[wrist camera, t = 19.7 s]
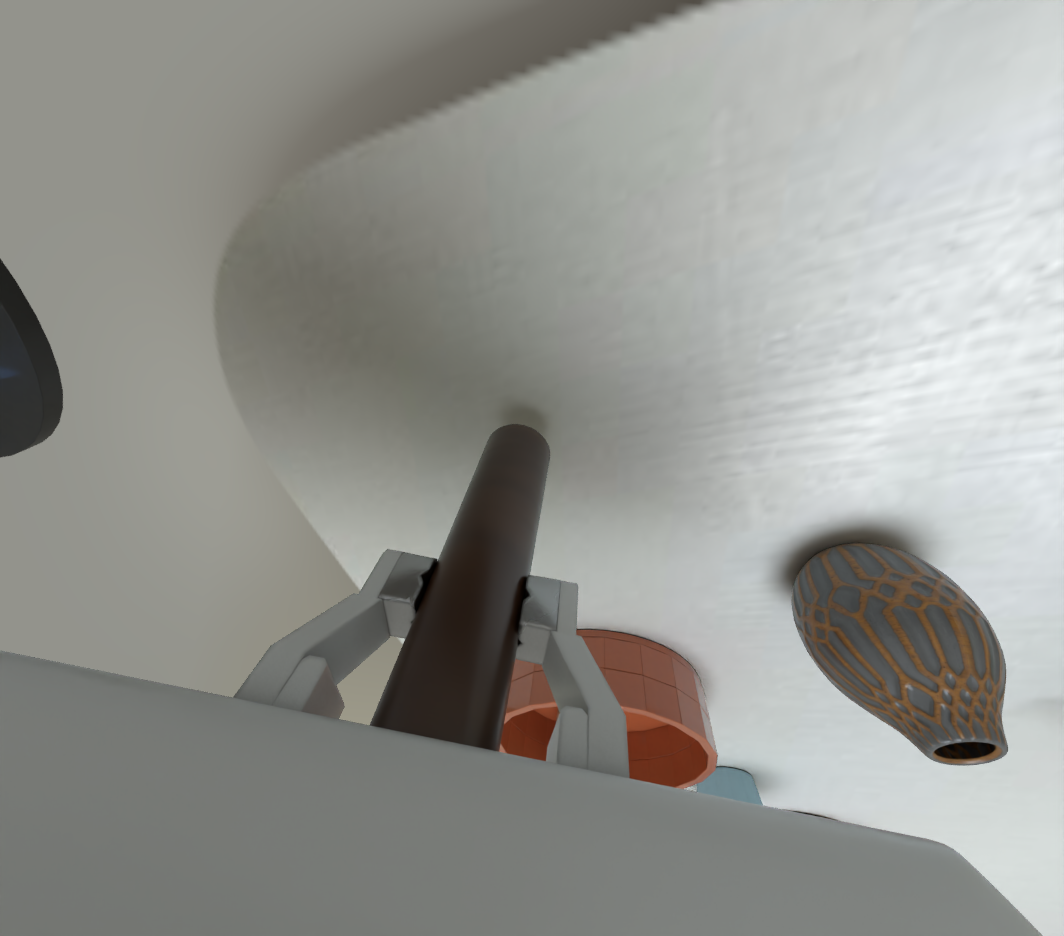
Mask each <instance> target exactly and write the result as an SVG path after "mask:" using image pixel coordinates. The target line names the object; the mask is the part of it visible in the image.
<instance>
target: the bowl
mask: <svg viewBox="0 0 1064 936" xmlns="http://www.w3.org/2000/svg"><path fill="white" fill-rule="evenodd" d="M576 635H578V636H581V637H582V638H583V640H584V642H585V644H586V645H587V647H588V649H589V651H590V653H591V654H592V656H593V658H594V660H595V662H596V663H597V665H598V667H599V669H600V671H601V672H602V674H603V676H604V678H605V680H606V681H607V683H608V685H609V687H610V688H611V690H612V692H613V694H614V696H615V697H616V699H617V701H618V703H619V705H620V706H621V708H622V710H623V712H624V714H625V715H626V726H627V743H628V760H629V778H630V779H635V780H640V781H645V782H650V783H655V784H660V785H665V786H670V787H674V788H679V789H684V788H687V787H690V786H692V785H695V784H698V783H701V782H703V781H704V780H705V779H706V778H707V777H709V776H710V775H711V774H712V773H713V772H714V771H715V770H716V763H717V756H718V755H717V750H716V746H715V741H714V736H713V732H712V727H711V723H710V718H709V713H708V709H707V704H706V699H705V695H704V690H703V688H702V686H701V683H700V679H699V677H698V675H697V673H696V671H695V670H694V669H693V667H692V666H691V665H690V664H689V663H688V662H687V661H686V660H685V659H683V658H682V657H681V656H679V655H678V654H676V653H675V652H673V651H672V650H670V649H668V648H666V647H664V646H662V645H660V644H657V643H655V642H652V641H650V640H647V639H643V638H640V637H637V636H633V635H628V634H624V633H618V632H612V631H603V630H576ZM557 711H558V707H557V704H556V702H555V699H554V697H553V694H552V691H551V689H550V686H549V684H548V681H547V678H546V676H545V673H544V671H543V668H542V665H540V664H535V663H530V662H526V661H521V660H517V659H515V663H514V669H513V675H512V680H511V686H510V692H509V698H508V704H507V709H506V715H505V721H504V727H503V732H502V738H501V744H500V750H499V752H503V753H508V754H512V755H517V756H522V757H527V758H532V759H537V760H542V761H546V756H547V747H548V744H549V741H550V738H551V736H552V733H553V730H554V727H555V725H556V716H557Z"/></svg>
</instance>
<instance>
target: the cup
mask: <svg viewBox="0 0 1064 936" xmlns="http://www.w3.org/2000/svg"><path fill="white" fill-rule="evenodd" d="M697 792H699V793H704V794H709V795H714V796H719V797H724V798H728V799H733V800H738V801H743V802H748V803H753V804H758V805H763V804H762V801H761V799H760V796H759V793H758V790H757V788H756V785H755V783H754V780H753V778H752V776H751V775H750V774H748V773H747V772H744V771H742V770H738V769H734V768H727V767H716V770H715V771H714V772H713V773H712V774H711V775H710V776H709V777H707V778H706V779H705V780H704V781H703V782H701V783H698V784H697Z"/></svg>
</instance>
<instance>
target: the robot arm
mask: <svg viewBox="0 0 1064 936" xmlns="http://www.w3.org/2000/svg"><path fill="white" fill-rule="evenodd" d="M436 564H437V559H435V558H430V557H425V556H420V555H415V554H411V553H406V552H401V551H396V550H390V549H387V550H386V551H385V552H384V553H383V554H382V556H381V557H380V559H379V561H378V562H377V564H376V566H375V567H374V569H373V571H372V572H371V574H370V576H369V577H368V579H367V581H366V582H365V584H364V586H363V587H362V589H361V591H360V592H359V594H352V595H350V596H349V597H347V598H346V599H344V600H342V601H341V602H339V603H338V604H336V605H334V606H333V607H331V608H330V609H328V610H327V611H325V612H323V613H322V614H321V615H319V616H317V617H316V618H314V619H312V620H311V621H309V622H307V623H306V624H304V625H303V626H301V627H300V628H298V629H296V630H295V631H293V632H292V633H290V634H288V635H287V636H285V637H284V638H282V639H281V640H279V641H277V642H276V643H274V644H273V645H271V646H270V647H269V649H268V650H267V652H266V653H265V654H264V656H263V657H262V659H261V660H260V661H259V663H258V664H257V665H256V667H255V668H254V669H253V671H252V672H251V674H250V675H249V676H248V678H247V679H246V681H245V682H244V683H243V685H242V686H241V687H240V689H239V690H238V692H237V693H236V694H235V696H234V697H233V698H232V697H227V696H222V695H218V694H213V693H208V692H203V691H198V690H193V689H188V688H183V687H178V686H173V685H168V684H163V683H159V682H154V681H148V680H143V679H139V678H134V677H129V676H124V675H119V674H114V673H109V672H104V671H99V670H94V669H90V668H84V667H80V666H75V665H70V664H64V663H60V662H55V661H50V660H45V659H40V658H35V657H30V656H25V655H20V654H15V653H10V652H5V651H0V936H1042V935H1041V933H1040V932H1039V931H1038V930H1037V929H1036V928H1035V927H1034V926H1033V925H1032V924H1031V923H1030V922H1029V921H1028V920H1027V919H1026V918H1025V917H1024V916H1023V915H1022V914H1021V913H1020V912H1019V911H1018V910H1017V909H1016V908H1015V907H1014V906H1013V905H1012V904H1011V903H1010V902H1009V901H1008V900H1007V899H1006V898H1005V897H1004V896H1003V895H1002V894H1001V893H1000V892H999V891H998V890H997V889H996V888H995V887H994V886H993V885H992V884H991V883H990V882H989V881H988V880H987V879H986V878H985V877H984V876H983V875H982V874H981V873H980V872H979V871H978V870H977V869H975V868H974V867H973V866H972V865H971V864H970V863H969V862H968V861H967V860H966V859H965V858H964V857H963V856H961V855H960V854H959V853H958V852H956V851H955V850H954V849H952V848H950V847H948V846H947V845H945V844H942V843H939V842H936V841H933V840H929V839H925V838H920V837H915V836H910V835H905V834H900V833H895V832H890V831H886V830H881V829H876V828H871V827H866V826H861V825H856V824H851V823H846V822H841V821H836V820H832V819H827V818H822V817H817V816H812V815H807V814H802V813H797V812H792V811H787V810H782V809H778V808H773V807H768V806H763V805H758V804H753V803H748V802H743V801H738V800H733V799H728V798H724V797H719V796H714V795H709V794H704V793H699V792H694V791H689V790H684V789H679V788H674V787H670V786H665V785H660V784H655V783H650V782H645V781H640V780H635V779H630V778H629V760H628V743H627V726H626V715H625V714H624V712H623V710H622V708H621V706H620V705H619V703H618V701H617V699H616V697H615V696H614V694H613V692H612V690H611V688H610V687H609V685H608V683H607V681H606V680H605V678H604V676H603V674H602V672H601V671H600V669H599V667H598V665H597V663H596V662H595V660H594V658H593V656H592V654H591V653H590V651H589V649H588V647H587V645H586V644H585V642H584V640H583V638H582V637H581V636H578V635H576V630H577V606H578V585H577V583H571V582H565V581H560V580H557V579H551V578H545V577H539V576H533V575H528V577H527V582H526V588H525V593H524V601H523V605H522V610H521V616H520V622H519V628H518V639H519V640H518V646H517V652H516V657H515V659H517V660H521V661H526V662H530V663H535V664H540V665H542V668H543V671H544V673H545V676H546V678H547V681H548V684H549V686H550V689H551V691H552V694H553V697H554V699H555V702H556V704H557V707H558V710H559V712H560V714H559V716H558V719H557V722H556V725H555V727H554V730H553V733H552V736H551V738H550V741H549V744H548V747H547V756H546V761H542V760H537V759H532V758H527V757H522V756H517V755H512V754H508V753H503V752H498V751H493V750H488V749H483V748H478V747H473V746H468V745H463V744H458V743H454V742H449V741H444V740H439V739H434V738H429V737H424V736H419V735H414V734H409V733H404V732H400V731H395V730H390V729H385V728H380V727H375V726H370V725H365V724H360V723H355V722H350V721H346V720H340V719H339V717H340V715H341V713H342V711H343V709H344V702H343V700H342V697H341V695H340V693H339V690H338V688H337V686H336V685H337V684H338V683H339V682H340V681H342V680H343V679H344V678H345V677H346V676H347V675H348V674H350V673H351V672H352V671H353V670H354V669H355V668H356V667H357V666H359V665H360V664H361V663H362V662H363V661H364V660H365V659H366V658H368V657H369V656H370V655H371V654H372V653H373V652H374V651H375V650H377V649H378V648H379V647H380V646H381V645H382V644H383V643H384V642H386V641H387V640H388V639H389V638H390V636H394V637H400V638H406V636H407V634H408V632H409V629H410V627H411V624H412V622H413V620H414V617H415V615H416V612H417V610H418V608H419V605H420V603H421V600H422V598H423V595H424V593H425V591H426V588H427V586H428V583H429V581H430V579H431V576H432V574H433V571H434V569H435V567H436Z"/></svg>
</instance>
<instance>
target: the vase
mask: <svg viewBox="0 0 1064 936" xmlns="http://www.w3.org/2000/svg"><path fill="white" fill-rule="evenodd" d="M792 611H793V616H794V621H795V624H796V627H797V630H798V632H799V635H800V637H801V639H802V642H803V644H804V646H805V648H806V650H807V652H808V653H809V655H810V656H811V658H812V659H813V661H814V662H815V663H816V665H817V666H818V667H819V669H820V670H821V671H822V672H823V674H824V675H825V676H826V677H827V678H828V679H829V680H830V681H831V683H832V684H833V685H834V686H835V687H836V688H837V689H839V690H840V691H841V692H842V693H843V694H844V695H845V696H847V697H848V698H849V699H850V700H852V701H853V702H855V703H856V704H858V705H859V706H860V707H862V708H863V709H865V710H866V711H868V712H869V713H871V714H873V715H874V716H876V717H877V718H879V719H880V720H882V721H883V722H885V723H887V724H888V725H890V726H891V727H893V728H894V729H896V730H897V731H899V732H900V733H901V734H902V735H904V736H905V737H906V738H907V739H909V740H910V741H911V742H912V743H913V744H914V745H915V746H916V747H917V748H918V749H919V750H920V751H921V752H922V753H923V754H925V755H926V756H927V757H928V758H930V759H931V760H933V761H936V762H939V763H943V764H948V765H977V764H984V763H989V762H992V761H995V760H998V759H1000V758H1002V757H1003V756H1005V755H1006V753H1007V752H1008V745H1007V741H1006V738H1005V734H1004V730H1003V725H1002V708H1003V701H1004V693H1005V684H1006V664H1005V659H1004V655H1003V651H1002V649H1001V646H1000V643H999V641H998V639H997V637H996V635H995V632H994V630H993V629H992V627H991V625H990V623H989V621H988V620H987V618H986V617H985V615H984V614H983V612H982V611H981V610H980V608H979V607H978V606H977V605H976V604H975V603H974V601H973V600H972V599H971V598H970V597H969V596H968V595H967V594H966V593H965V592H964V591H963V590H962V589H961V588H960V587H959V586H958V585H957V584H956V583H955V582H954V581H952V580H951V579H950V578H949V577H948V576H946V575H945V574H944V573H942V572H941V571H939V570H938V569H937V568H935V567H933V566H932V565H930V564H928V563H927V562H925V561H923V560H922V559H920V558H918V557H916V556H913V555H911V554H909V553H907V552H904V551H901V550H898V549H894V548H891V547H887V546H882V545H874V544H864V543H851V544H843V545H838V546H834V547H831V548H828V549H826V550H824V551H822V552H820V553H818V554H816V555H815V556H813V557H812V558H811V559H810V560H809V561H808V562H807V563H806V564H805V565H804V566H803V568H802V569H801V571H800V572H799V573H798V575H797V577H796V580H795V582H794V585H793V589H792Z"/></svg>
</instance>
